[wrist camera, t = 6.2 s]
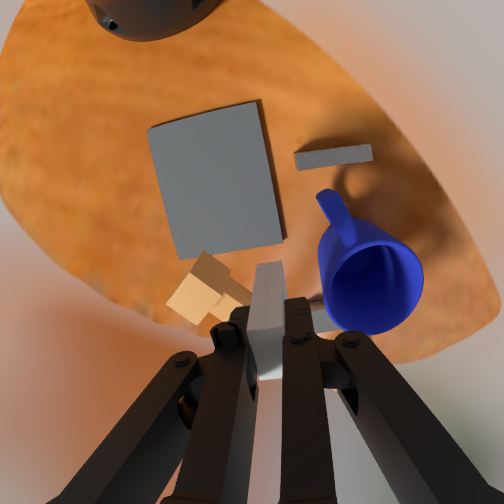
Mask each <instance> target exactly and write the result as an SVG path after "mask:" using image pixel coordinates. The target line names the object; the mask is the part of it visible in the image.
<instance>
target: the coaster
mask: <svg viewBox="0 0 504 504" xmlns="http://www.w3.org/2000/svg"><path fill="white" fill-rule="evenodd" d="M147 134H148V139H149V144H150V148H151V153H152V157H153V162H154V166H155V170H156V174H157V179H158V183H159V187H160V191H161V195H162V199H163V203H164V207H165V210H166V214H167V218H168V222H169V225H170V229H171V233H172V236H173V240H174V244H175V247H176V251H177V254H178V257H179V260H183V259H189V258H195V257H198V256H199V255H200V254H201V252H202V251H203V250H204V251H206V252H207V253H208V254H210V255H213V254H219V253H225V252H231V251H237V250H243V249H249V248H255V247H262V246H268V245H274V244H280V243H283V239H282V233H281V228H280V222H279V217H278V211H277V206H276V200H275V195H274V189H273V184H272V179H271V174H270V168H269V163H268V158H267V153H266V148H265V143H264V138H263V133H262V128H261V124H260V119H259V114H258V109H257V105H256V102H252V103H247V104H242V105H238V106H233V107H229V108H224V109H220V110H216V111H211V112H207V113H203V114H199V115H196V116H192V117H188V118H185V119H181V120H177V121H174V122H171V123H167V124H164V125H161V126H157V127H154V128H151V129H148V130H147Z"/></svg>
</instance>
